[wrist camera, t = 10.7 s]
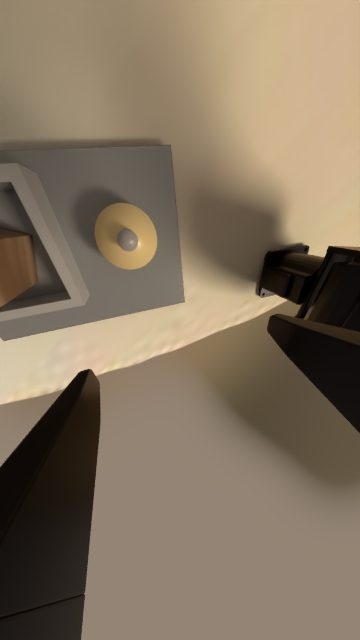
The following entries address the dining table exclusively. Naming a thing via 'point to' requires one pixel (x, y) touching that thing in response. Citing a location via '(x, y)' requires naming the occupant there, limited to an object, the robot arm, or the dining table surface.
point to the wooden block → (16, 264)
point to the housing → (91, 234)
